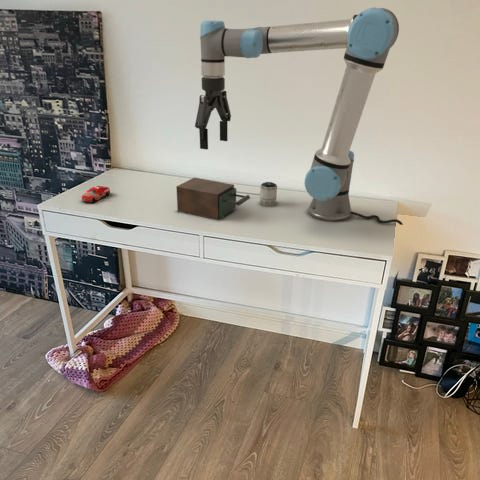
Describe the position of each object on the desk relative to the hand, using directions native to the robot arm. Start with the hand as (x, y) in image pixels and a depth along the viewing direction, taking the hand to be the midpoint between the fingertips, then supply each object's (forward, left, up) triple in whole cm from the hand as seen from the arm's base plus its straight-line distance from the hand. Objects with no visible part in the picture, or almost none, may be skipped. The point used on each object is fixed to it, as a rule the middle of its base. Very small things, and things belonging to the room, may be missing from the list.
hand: (214, 144), depth 168 cm
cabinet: (+2, +4, -23) cm, 23 cm away
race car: (+45, +14, -23) cm, 52 cm away
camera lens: (-15, -14, -23) cm, 31 cm away
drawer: (-3, +4, -22) cm, 23 cm away
